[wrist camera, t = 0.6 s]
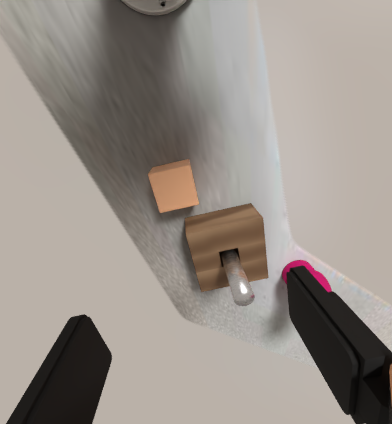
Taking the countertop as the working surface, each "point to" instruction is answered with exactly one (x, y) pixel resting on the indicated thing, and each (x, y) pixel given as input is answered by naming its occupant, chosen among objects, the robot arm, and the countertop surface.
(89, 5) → the countertop surface
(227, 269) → the post
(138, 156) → the countertop surface
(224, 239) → the post block
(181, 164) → the cardboard-colored cube
